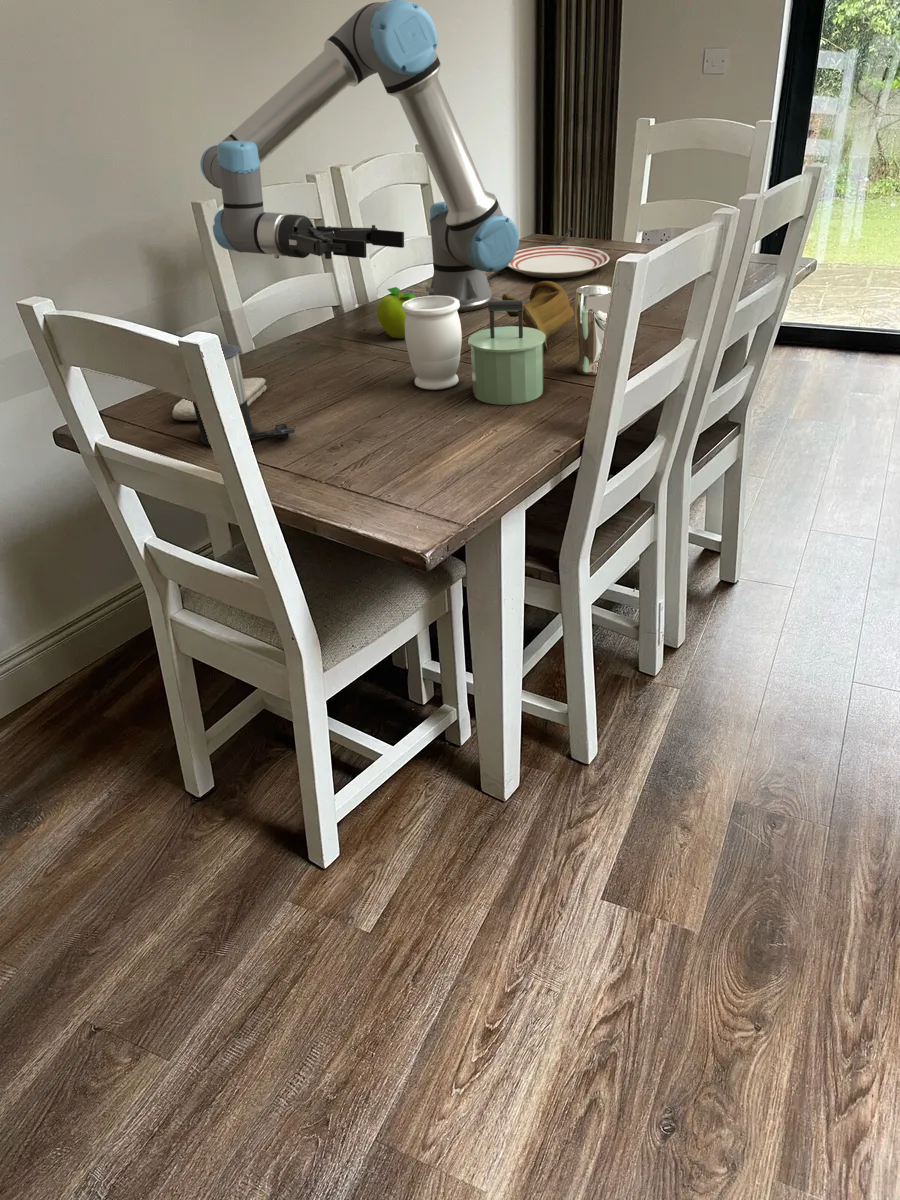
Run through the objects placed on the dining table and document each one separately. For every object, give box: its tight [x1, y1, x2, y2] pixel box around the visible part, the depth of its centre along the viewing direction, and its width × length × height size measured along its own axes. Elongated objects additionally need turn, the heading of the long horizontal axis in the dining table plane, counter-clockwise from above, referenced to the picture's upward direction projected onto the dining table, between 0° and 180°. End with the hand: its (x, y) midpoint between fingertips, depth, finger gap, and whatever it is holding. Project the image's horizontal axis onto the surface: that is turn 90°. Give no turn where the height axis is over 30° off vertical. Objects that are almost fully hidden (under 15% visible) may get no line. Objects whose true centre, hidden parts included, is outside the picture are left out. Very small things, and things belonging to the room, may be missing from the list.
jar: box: [403, 295, 463, 391], centre depth 171 cm, size 11×10×15 cm
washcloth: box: [172, 377, 268, 422], centre depth 171 cm, size 12×18×3 cm, turn 170°
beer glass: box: [574, 284, 613, 376], centre depth 171 cm, size 7×7×15 cm
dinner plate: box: [506, 245, 610, 279], centre depth 242 cm, size 27×27×3 cm
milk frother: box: [192, 343, 296, 446], centre depth 153 cm, size 14×16×15 cm
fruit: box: [376, 286, 417, 340], centre depth 198 cm, size 9×9×10 cm
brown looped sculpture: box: [501, 280, 575, 354], centre depth 189 cm, size 18×13×22 cm
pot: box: [470, 344, 545, 406], centre depth 166 cm, size 13×13×10 cm
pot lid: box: [467, 299, 546, 353], centre depth 161 cm, size 14×14×8 cm
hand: (385, 244), depth 167 cm, fingers open, 13 cm apart
